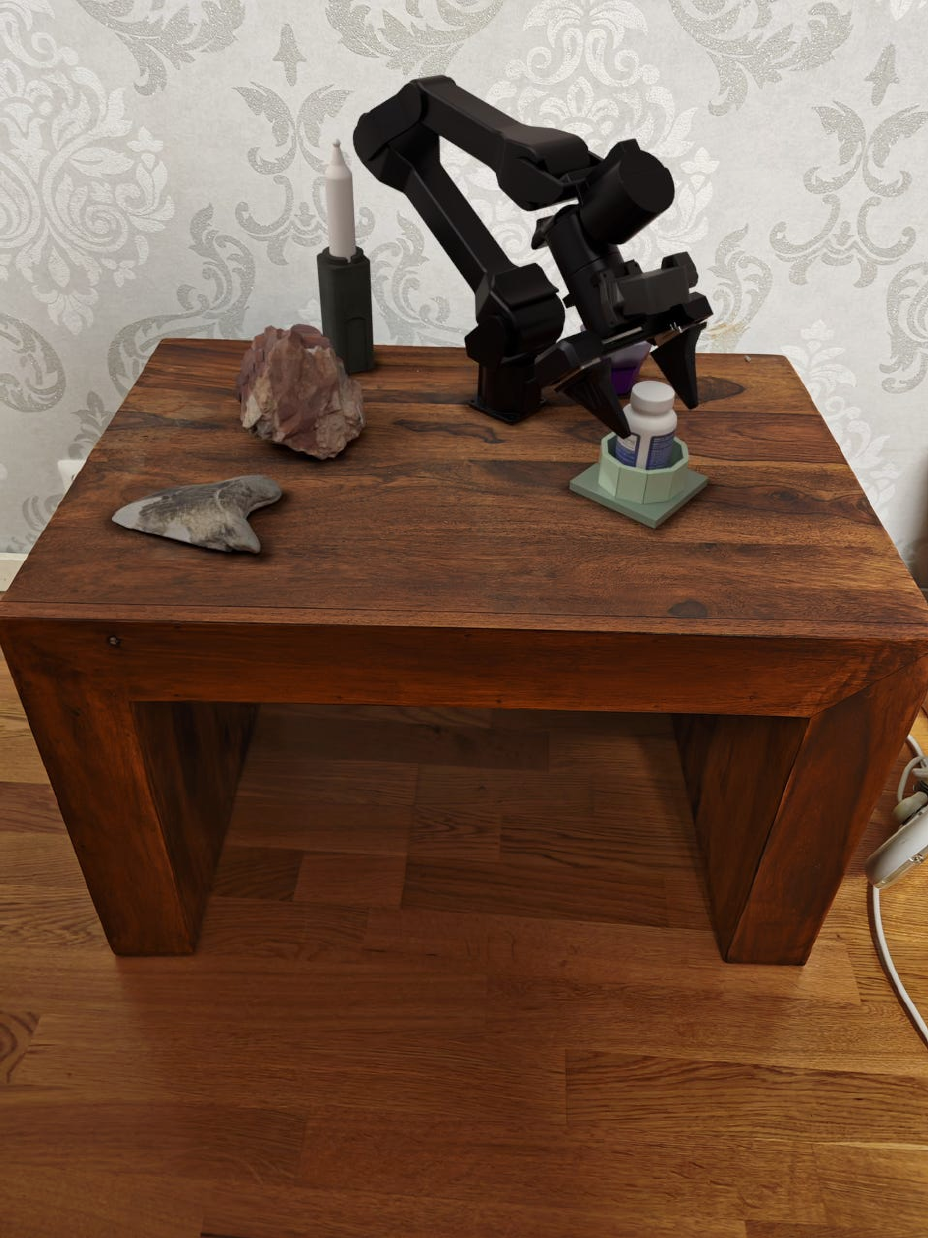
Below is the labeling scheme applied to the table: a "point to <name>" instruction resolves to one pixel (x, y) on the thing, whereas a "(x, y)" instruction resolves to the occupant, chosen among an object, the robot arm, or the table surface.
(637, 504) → the cup holder
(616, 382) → the potion bottle
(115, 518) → the fossil
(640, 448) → the pill bottle
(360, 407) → the mineral specimen
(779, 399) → the table surface
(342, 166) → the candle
